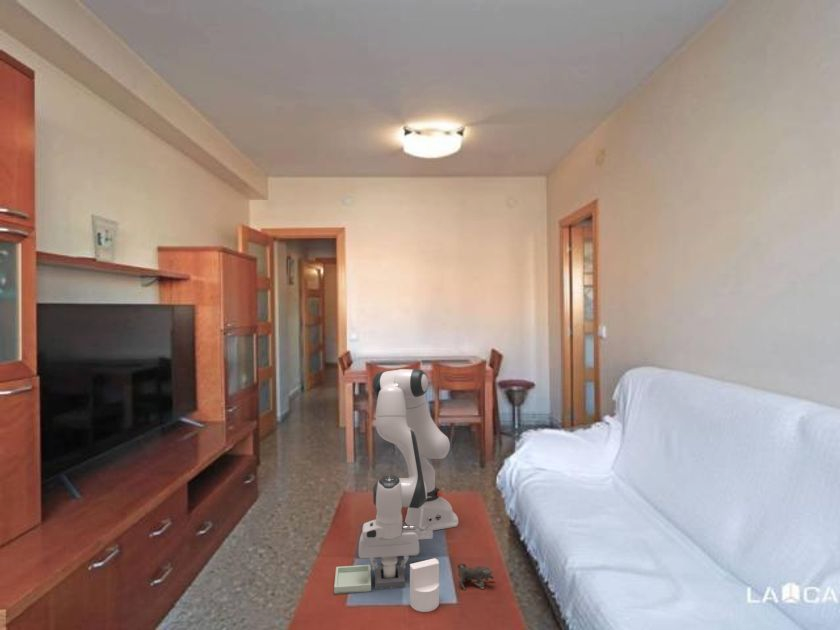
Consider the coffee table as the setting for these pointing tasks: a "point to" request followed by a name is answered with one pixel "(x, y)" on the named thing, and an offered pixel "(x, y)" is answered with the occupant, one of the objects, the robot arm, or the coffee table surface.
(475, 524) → the coffee table surface
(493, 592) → the coffee table surface
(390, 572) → the plug
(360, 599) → the coffee table surface
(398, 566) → the socket
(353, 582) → the tray
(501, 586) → the coffee table surface
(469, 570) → the dog figurine
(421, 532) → the grey square bar
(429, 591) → the cylinder with rectangular tab
